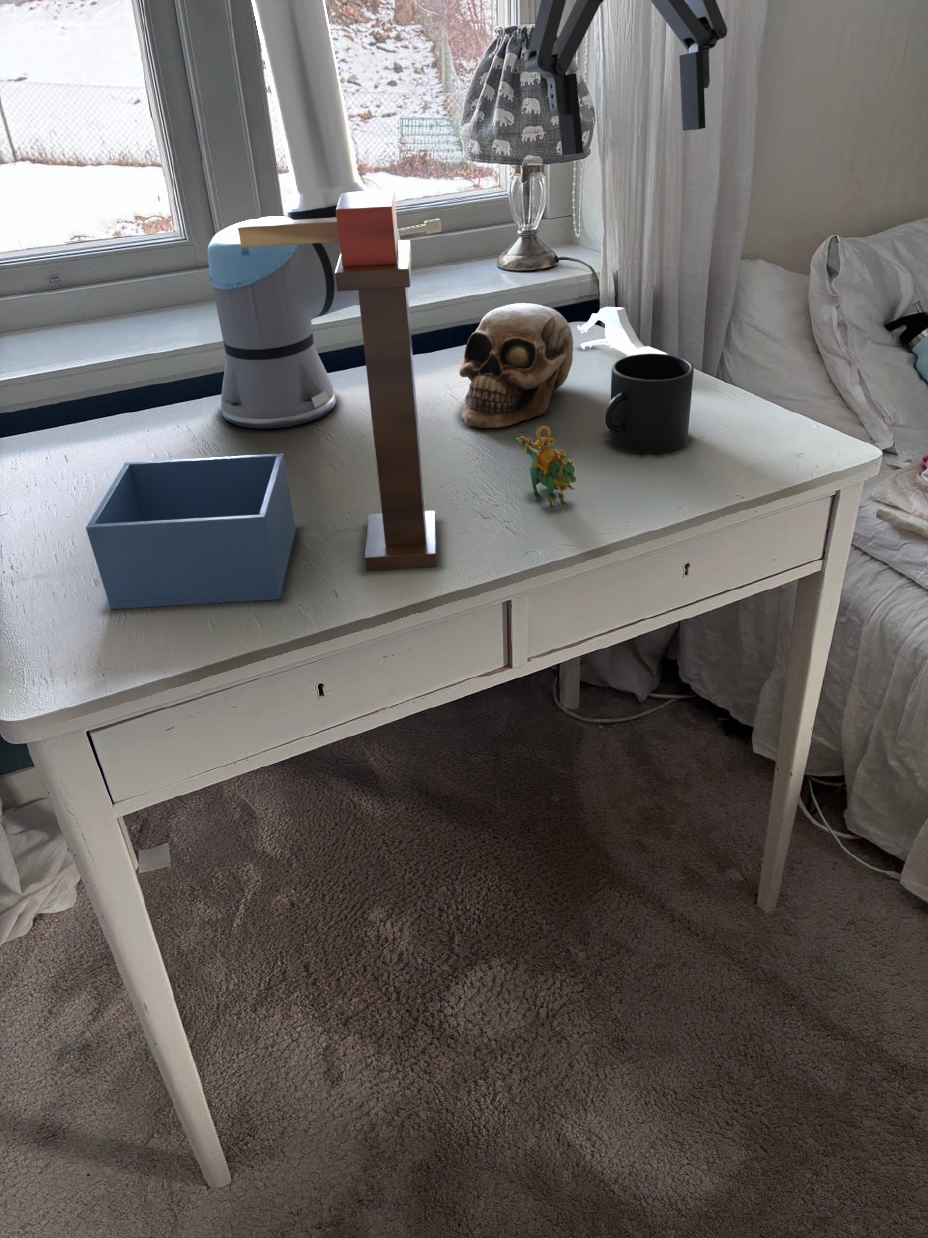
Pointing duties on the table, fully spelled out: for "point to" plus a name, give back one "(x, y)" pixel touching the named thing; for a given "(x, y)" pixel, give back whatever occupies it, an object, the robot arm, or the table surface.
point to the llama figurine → (617, 332)
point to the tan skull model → (515, 364)
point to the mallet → (339, 230)
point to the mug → (650, 403)
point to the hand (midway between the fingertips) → (634, 141)
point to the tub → (194, 531)
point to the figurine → (548, 467)
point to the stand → (392, 416)
